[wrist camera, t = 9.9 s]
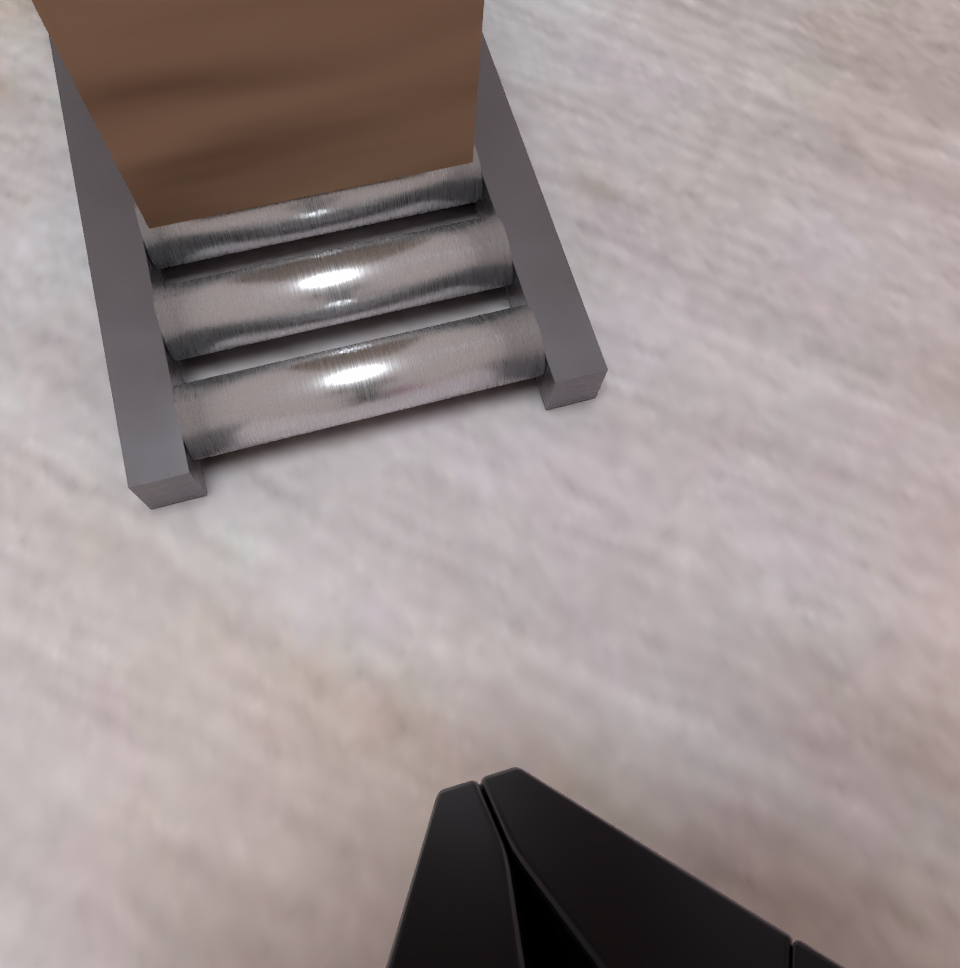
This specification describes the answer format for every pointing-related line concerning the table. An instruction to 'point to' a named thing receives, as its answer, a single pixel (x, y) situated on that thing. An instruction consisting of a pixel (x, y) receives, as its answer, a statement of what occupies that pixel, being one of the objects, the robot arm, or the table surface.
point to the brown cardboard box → (270, 94)
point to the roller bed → (324, 301)
